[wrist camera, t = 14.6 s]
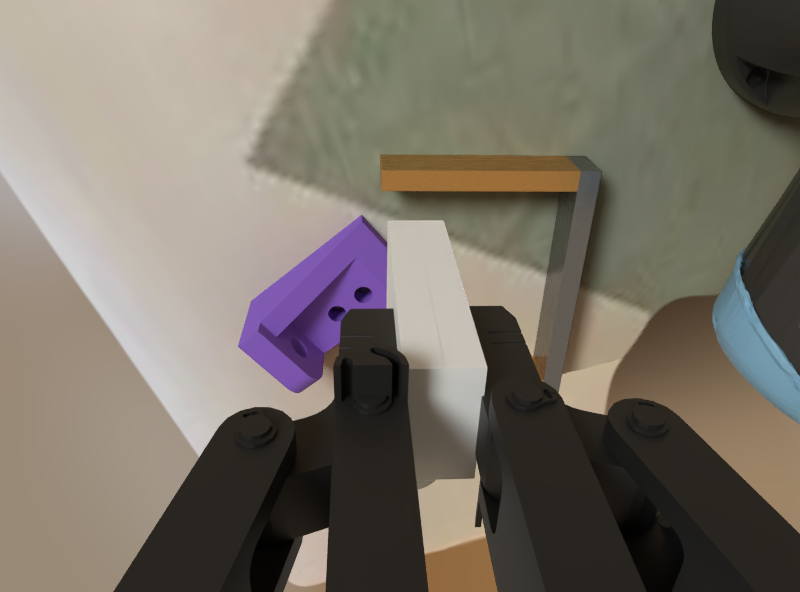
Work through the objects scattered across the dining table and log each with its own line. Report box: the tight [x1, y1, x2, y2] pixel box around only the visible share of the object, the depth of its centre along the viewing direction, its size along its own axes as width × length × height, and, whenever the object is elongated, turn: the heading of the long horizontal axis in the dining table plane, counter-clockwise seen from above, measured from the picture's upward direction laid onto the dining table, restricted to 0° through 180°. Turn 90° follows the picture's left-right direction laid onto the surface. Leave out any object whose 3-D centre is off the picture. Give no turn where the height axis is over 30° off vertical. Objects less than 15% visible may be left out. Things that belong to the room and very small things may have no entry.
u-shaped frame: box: [380, 155, 602, 392], centre depth 49 cm, size 16×20×4 cm
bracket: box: [238, 215, 387, 393], centre depth 48 cm, size 12×7×7 cm, turn 129°
